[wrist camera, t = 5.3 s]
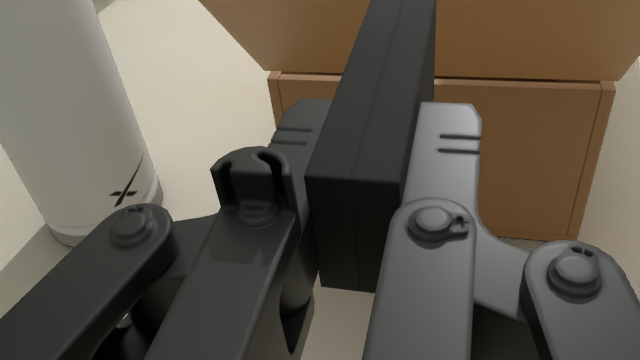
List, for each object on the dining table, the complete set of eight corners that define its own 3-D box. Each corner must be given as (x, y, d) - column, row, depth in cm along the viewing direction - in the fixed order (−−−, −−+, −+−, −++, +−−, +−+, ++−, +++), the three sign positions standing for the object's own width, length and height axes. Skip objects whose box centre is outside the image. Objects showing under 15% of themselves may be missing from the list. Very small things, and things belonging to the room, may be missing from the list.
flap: (619, 71, 22) (618, 81, 22) (265, 62, 25) (264, 71, 25) (713, -49, 14) (713, -33, 14) (175, -39, 17) (173, -26, 17)
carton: (576, 244, 28) (621, 72, 22) (292, 218, 31) (263, 63, 25) (554, 61, 40) (579, -81, 34) (352, 56, 43) (342, -73, 37)
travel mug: (173, 231, 31) (4, -217, 18) (47, 264, 30) (-226, -182, 17) (166, 162, 36) (27, -234, 23) (56, 189, 35) (-153, -207, 22)
